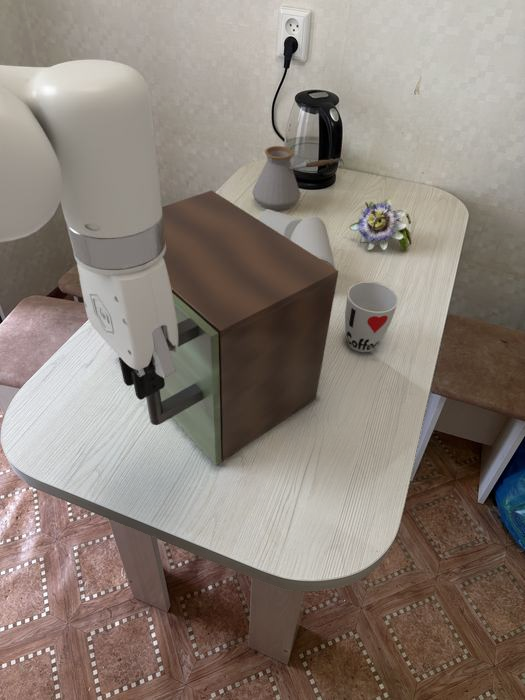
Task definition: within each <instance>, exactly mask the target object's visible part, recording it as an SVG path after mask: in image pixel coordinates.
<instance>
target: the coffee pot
mask: <svg viewBox="0 0 525 700" xmlns="http://www.w3.org/2000/svg"><path fill="white" fill-rule="evenodd" d="M264 153H265V155H266V158H267V160H266V162H265V164H264V166H263V168H262V170H261V172H260V174H259V176H258V178H257V180H256V182H255V184H254V186H253V188H252V197H253V198H254V201H256V203H257V204H258V205H259V206H260V207H261V208H262V209H264V210H266V209H270V210H273V211H276V212H280V213H281V212H285V211H288V210H289V209H291V208H292V207H293V206H295V205H296V204H297V202H299V200H300V198H301V191H300V188H299V185H298V182H297V179H296V176H295V174H294V170H299V169H304V168H315V167H316V168H317V167H323V166H326V165H333V164H334V163H337V164H338V168H339V169H343V168H344V167H345V166H344V165H345V161H344V160H343V159H342V158H335V159H334V158H329V159H320V160H315V161H311V162H306V163H301V164H300V163H299V164H291V162H290V161H291V158H292V157H293V156H294V151H293V150H292V149H291V148H288V147H287V146H282V145H273V146H269V147H267V148H266V149H265V150H264ZM341 162H342V167H341V166H340V163H341Z"/></svg>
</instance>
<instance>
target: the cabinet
mask: <svg viewBox="0 0 525 700" xmlns="http://www.w3.org/2000/svg"><path fill="white" fill-rule="evenodd" d="M162 213H163V223H164V232H165V241H166V251H165V254H164V256H163V259H164V261H165V264H166V268H167V272H168V276H169V281H170V285H171V290H172V293H173V294H174V295H176V296H177V297H178V298H179V299H180V300H181V301H182V302H184V303H185V304H186V305H187V306H188V307H189V308H190V309H192V310H193V311H194V312H195V313H196V314H197V315H198V316H199V317H201V318H202V319H203V320H204V321H205V322H206V323H207V324H209V325H210V326H211V327H212V328H213V329H214V330H215V331H217V332H218V337H219V378H220V420H221V461H222V462H225V461H226V460H228V459H229V458H230V457H232V456H233V455H235V454H236V453H238V452H239V451H241V450H242V449H244V448H246V447H247V446H248V445H250V444H251V443H253V442H254V441H256V440H257V439H259V438H260V437H262V436H263V435H265V434H266V433H268V432H269V431H271V430H272V429H274V428H275V427H277V426H278V425H280V424H281V423H283V422H284V421H286V420H287V419H289V418H290V417H292V416H293V415H295V414H297V412H299V411H301V410H302V409H304V408H305V407H307V406H308V405H309V404H311V403H313V402H314V401H315V400H317V396H318V390H319V389H318V388H319V383H320V378H321V373H322V367H323V361H324V356H325V349H326V346H327V345H326V344H327V338H328V333H329V326H330V322H331V315H332V312H333V311H332V310H333V304H334V299H335V292H336V288H337V282H338V276H339V270H338V269H335V268H336V267H335V268H333V267H332V266H330V265H329V264H327V263H325V262H324V261H322V260H321V259H319V258H318V257H316V256H314V255H313V254H311V253H310V252H308V251H307V250H305V249H303V248H302V247H300V246H299V245H297V244H296V243H294V242H292V241H291V240H289V239H288V238H286V237H285V236H283V235H281V234H280V233H278V232H277V231H275V230H273V229H272V228H270V227H269V226H267V225H266V224H264V223H262V222H261V221H259V220H258V218H256V217H255V216H253V215H251V214H250V213H248V212H247V211H245V210H243V209H242V208H240V207H239V206H237V205H236V204H234V203H233V202H231V201H229V200H228V199H227V198H225V197H223V196H221V195H220V194H218V193H217V192H216V191H213V190H211V189H210V190H209V191H206V192H202V193H200V194H196V195H193V196H191V197H187V198H185V199H182V200H179V201H175V202H172V203H169V204H167V205H162Z"/></svg>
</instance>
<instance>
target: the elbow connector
mask: <svg viewBox="0 0 525 700" xmlns="http://www.w3.org/2000/svg"><path fill="white" fill-rule="evenodd" d="M257 219H258V220H259V221H261V222H262V223H264V224H266V225H267V226H269V227H270V228H272V229H273V230H275V231H277V232H278V233H280V234H281V235H283V236H285V237H286V238H288V239H289V240H291V241H292V242H294V243H296V244H297V245H299V246H300V247H302V248H303V249H305V250H307V251H308V252H310V253H311V254H313V255H314V256H316V257H318V258H319V259H321V260H322V261H324V262H325V263H327V264H329V265H330V266H332V267H333V268H335V269H336V265H335V260H334V256H333V251H332V247H331V243H330V239H329V235H328V230H327V227H326V224H325V222H324V221H323V220H322V219H321V218H320V217H318V216H316V215H309V216H306V217H304V218H300V217H297V216H293V215H289V214H286V213H283V212H281V211H280V212H276V211H273V210H270V209H264V210H263V211H262V212H261V214H260V215H259V217H258V218H257ZM336 270H337V269H336Z"/></svg>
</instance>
